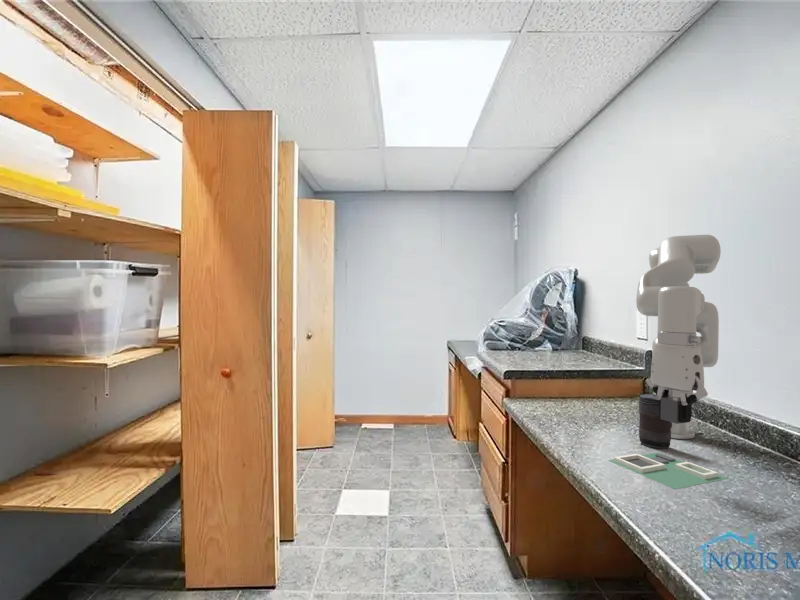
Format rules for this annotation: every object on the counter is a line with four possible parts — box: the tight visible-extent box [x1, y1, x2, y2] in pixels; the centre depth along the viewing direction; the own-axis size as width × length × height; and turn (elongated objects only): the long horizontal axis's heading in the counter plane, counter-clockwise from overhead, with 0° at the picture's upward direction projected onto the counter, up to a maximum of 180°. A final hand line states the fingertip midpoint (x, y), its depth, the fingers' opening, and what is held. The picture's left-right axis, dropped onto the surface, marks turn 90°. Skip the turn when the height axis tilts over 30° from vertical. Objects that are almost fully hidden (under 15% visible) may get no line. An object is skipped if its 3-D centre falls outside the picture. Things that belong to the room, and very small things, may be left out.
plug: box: [661, 397, 687, 424], centre depth 100 cm, size 4×4×6 cm
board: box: [607, 452, 730, 490], centre depth 106 cm, size 18×18×2 cm
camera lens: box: [638, 393, 672, 450], centre depth 124 cm, size 8×8×15 cm
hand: (674, 418), depth 100 cm, fingers closed on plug, 4 cm apart
